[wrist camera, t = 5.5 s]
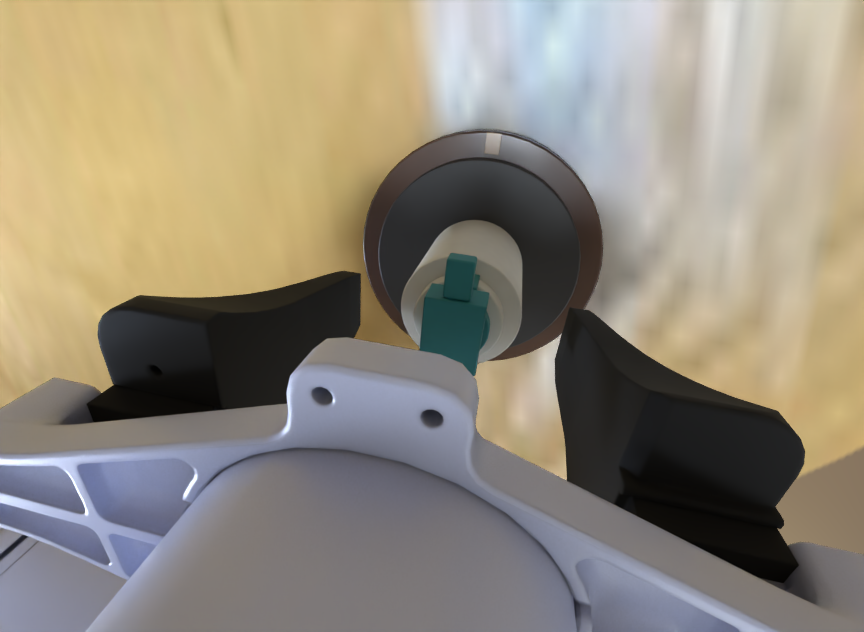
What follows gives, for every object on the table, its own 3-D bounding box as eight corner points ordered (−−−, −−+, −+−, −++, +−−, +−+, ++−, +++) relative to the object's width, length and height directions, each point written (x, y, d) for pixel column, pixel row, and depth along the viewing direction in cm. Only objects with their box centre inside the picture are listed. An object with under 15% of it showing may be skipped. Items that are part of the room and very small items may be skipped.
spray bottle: (552, 360, 20) (565, 484, 14) (378, 328, 21) (313, 428, 15) (605, 172, 16) (662, 219, 9) (385, 145, 17) (298, 169, 11)
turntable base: (367, 332, 23) (361, 342, 22) (371, 116, 18) (362, 117, 17) (566, 368, 22) (568, 380, 21) (632, 144, 16) (639, 147, 15)
